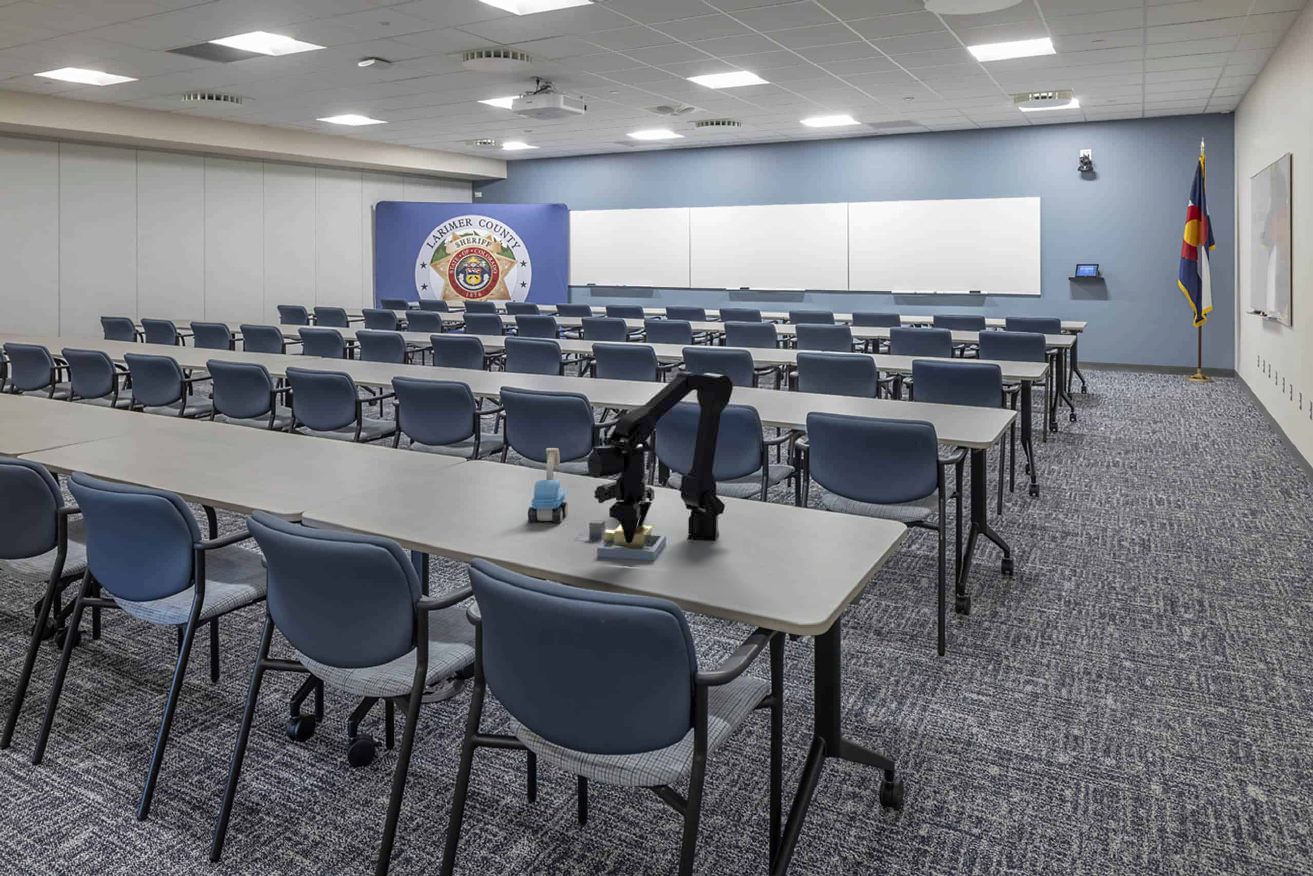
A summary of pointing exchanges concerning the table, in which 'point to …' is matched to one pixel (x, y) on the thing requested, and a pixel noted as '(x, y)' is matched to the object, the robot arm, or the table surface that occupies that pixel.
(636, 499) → the robot arm
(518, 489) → the table surface
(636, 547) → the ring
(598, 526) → the grey peg base
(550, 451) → the toy excavator
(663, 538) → the tray
